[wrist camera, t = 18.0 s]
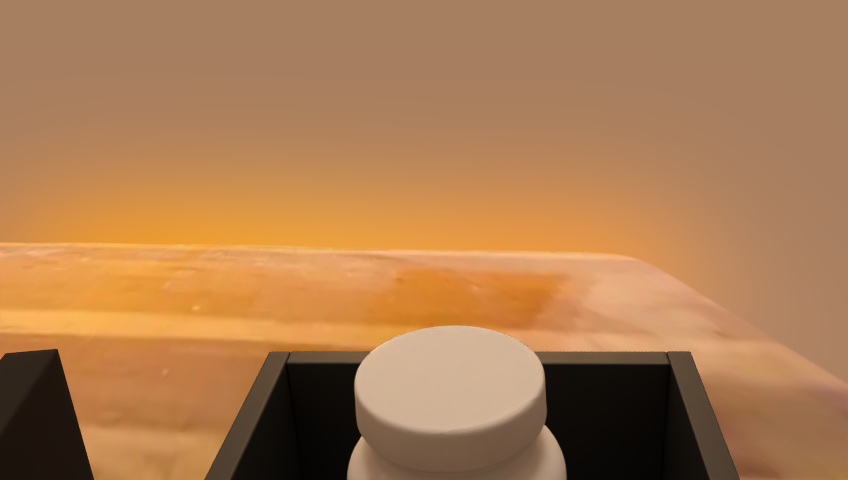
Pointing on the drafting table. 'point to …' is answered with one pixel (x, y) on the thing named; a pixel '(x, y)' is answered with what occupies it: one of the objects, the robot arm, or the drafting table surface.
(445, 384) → the pill bottle
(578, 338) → the drafting table surface
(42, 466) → the robot arm
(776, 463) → the drafting table surface
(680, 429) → the bin
